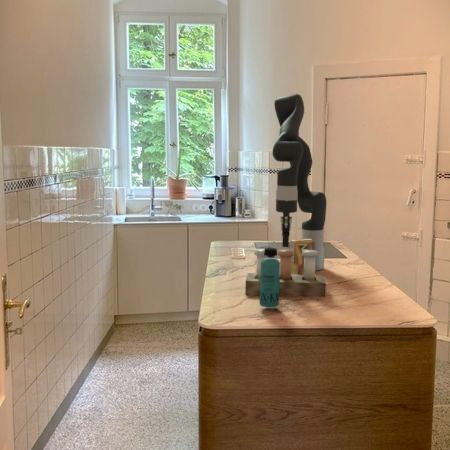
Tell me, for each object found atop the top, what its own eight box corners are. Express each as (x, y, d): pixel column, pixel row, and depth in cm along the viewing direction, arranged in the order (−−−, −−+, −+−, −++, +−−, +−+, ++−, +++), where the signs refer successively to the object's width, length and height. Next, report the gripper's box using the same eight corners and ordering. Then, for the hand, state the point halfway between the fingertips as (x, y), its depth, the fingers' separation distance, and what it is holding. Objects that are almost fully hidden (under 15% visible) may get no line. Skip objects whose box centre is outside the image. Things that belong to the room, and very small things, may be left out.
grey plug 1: (262, 276, 198) (263, 248, 196) (272, 279, 193) (273, 250, 192) (251, 278, 195) (251, 249, 193) (261, 281, 190) (261, 252, 189)
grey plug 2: (309, 277, 196) (309, 249, 194) (320, 280, 192) (321, 251, 190) (298, 279, 193) (298, 251, 191) (309, 282, 188) (310, 253, 187)
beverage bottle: (257, 306, 175) (258, 246, 172) (277, 306, 176) (278, 246, 173) (260, 312, 169) (261, 250, 166) (281, 312, 169) (282, 250, 166)
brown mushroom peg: (285, 276, 197) (286, 248, 195) (296, 279, 192) (297, 251, 191) (274, 278, 194) (274, 250, 192) (285, 282, 189) (285, 252, 188)
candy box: (308, 275, 219) (309, 238, 216) (313, 277, 215) (314, 240, 212) (289, 277, 216) (289, 239, 213) (293, 279, 212) (294, 241, 209)
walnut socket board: (245, 294, 189) (245, 280, 189) (247, 286, 201) (247, 273, 200) (325, 297, 186) (326, 283, 186) (323, 288, 198) (323, 275, 197)
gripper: (276, 196, 196) (275, 243, 198) (275, 199, 183) (274, 249, 185) (297, 197, 195) (295, 243, 197) (297, 200, 182) (296, 250, 184)
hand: (285, 246), depth 191 cm, fingers closed
